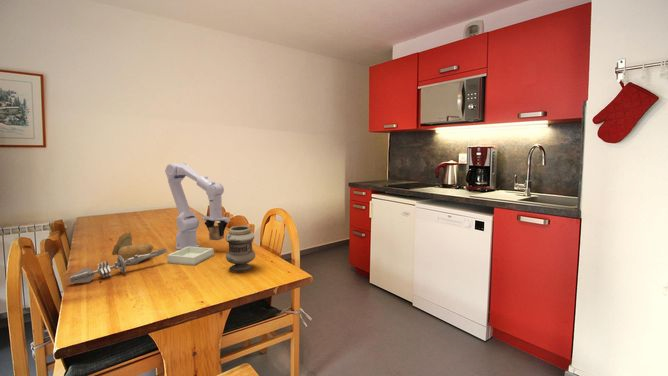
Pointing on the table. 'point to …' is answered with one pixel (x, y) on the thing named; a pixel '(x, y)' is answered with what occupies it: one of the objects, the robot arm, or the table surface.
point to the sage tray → (190, 255)
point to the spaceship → (110, 267)
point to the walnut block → (214, 233)
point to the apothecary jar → (240, 248)
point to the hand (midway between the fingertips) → (216, 235)
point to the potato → (135, 250)
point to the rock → (122, 242)
